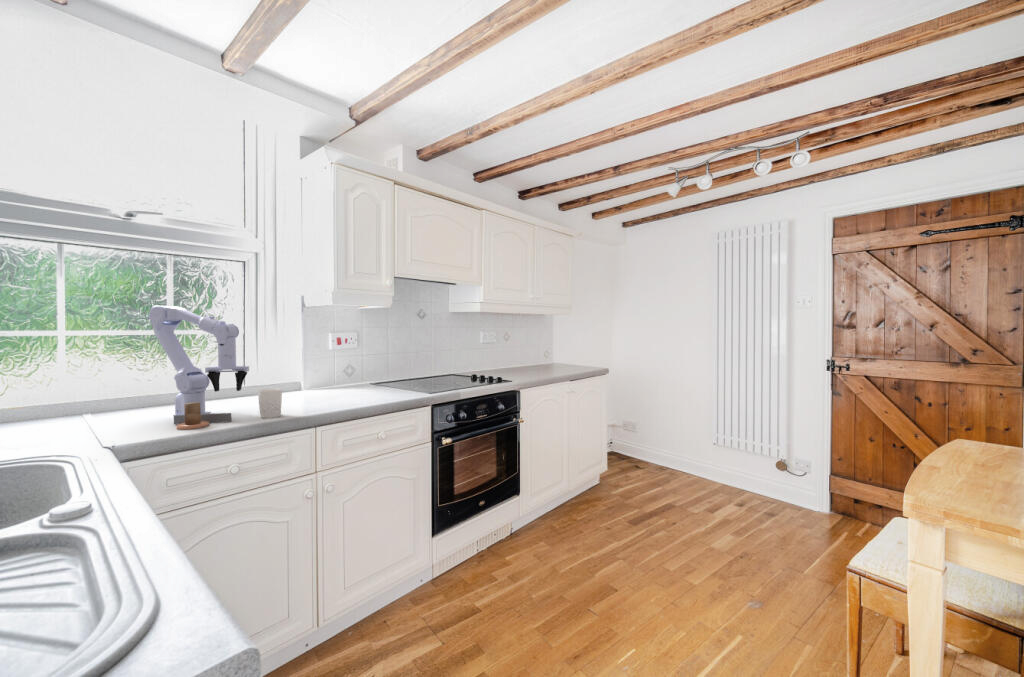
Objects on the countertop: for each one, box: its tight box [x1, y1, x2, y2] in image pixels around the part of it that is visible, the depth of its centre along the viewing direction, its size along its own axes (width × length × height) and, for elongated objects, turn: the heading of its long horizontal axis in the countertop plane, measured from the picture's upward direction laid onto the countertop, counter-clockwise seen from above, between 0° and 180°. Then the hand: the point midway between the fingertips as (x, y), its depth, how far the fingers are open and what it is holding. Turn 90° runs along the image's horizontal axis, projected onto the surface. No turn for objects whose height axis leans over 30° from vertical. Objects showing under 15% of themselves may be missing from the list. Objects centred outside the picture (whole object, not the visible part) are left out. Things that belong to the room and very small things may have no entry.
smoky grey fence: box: [173, 412, 232, 425], centre depth 155 cm, size 18×1×3 cm, turn 100°
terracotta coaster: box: [175, 421, 210, 431], centre depth 149 cm, size 9×9×1 cm
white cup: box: [257, 388, 283, 419], centre depth 165 cm, size 8×8×10 cm
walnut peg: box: [184, 402, 201, 425], centre depth 148 cm, size 4×4×7 cm
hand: (227, 390), depth 168 cm, fingers open, 7 cm apart
